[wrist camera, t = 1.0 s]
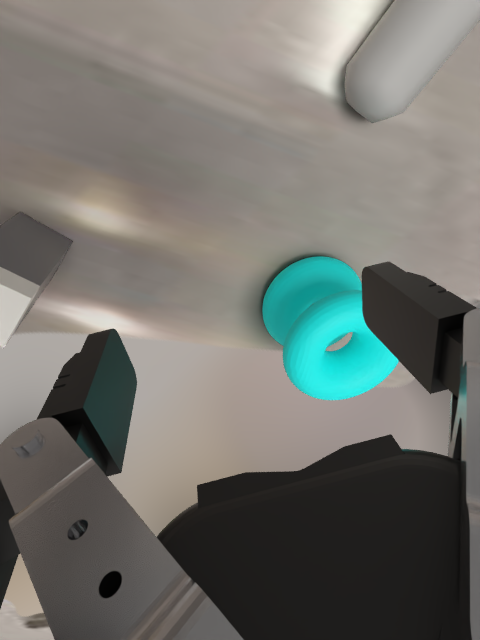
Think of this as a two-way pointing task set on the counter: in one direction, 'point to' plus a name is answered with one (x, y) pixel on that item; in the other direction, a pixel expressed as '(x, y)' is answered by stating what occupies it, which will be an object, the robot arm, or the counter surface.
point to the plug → (25, 268)
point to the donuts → (324, 329)
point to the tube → (406, 53)
